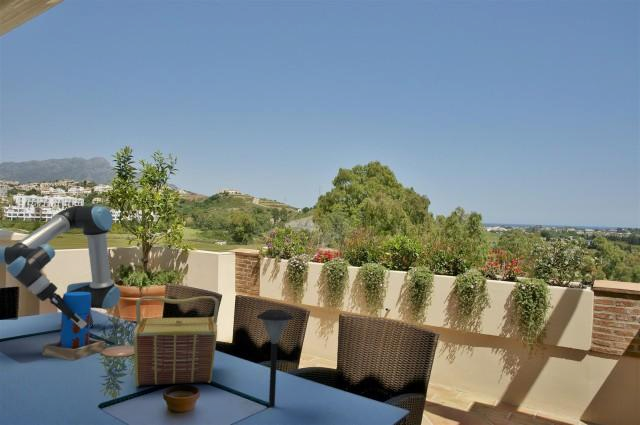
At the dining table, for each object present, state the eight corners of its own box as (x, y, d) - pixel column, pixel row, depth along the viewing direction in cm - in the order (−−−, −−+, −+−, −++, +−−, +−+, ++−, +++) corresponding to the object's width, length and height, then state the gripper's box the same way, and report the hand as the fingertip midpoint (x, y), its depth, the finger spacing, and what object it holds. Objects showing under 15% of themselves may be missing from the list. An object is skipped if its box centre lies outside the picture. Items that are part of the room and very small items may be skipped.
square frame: (75, 345, 207) (75, 336, 207) (104, 350, 202) (104, 341, 202) (42, 355, 192) (43, 345, 192) (73, 360, 186) (73, 350, 186)
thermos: (93, 350, 202) (96, 292, 202) (78, 357, 191) (81, 296, 192) (70, 348, 203) (73, 291, 203) (53, 355, 192) (57, 294, 193)
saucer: (120, 345, 211) (120, 343, 211) (149, 349, 206) (149, 348, 206) (92, 353, 196) (92, 352, 196) (123, 358, 191) (123, 357, 191)
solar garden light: (291, 399, 154) (295, 308, 155) (290, 414, 142) (294, 315, 142) (254, 398, 153) (258, 307, 154) (250, 413, 141) (254, 314, 142)
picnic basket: (127, 393, 154) (131, 302, 154) (136, 369, 178) (140, 291, 179) (217, 388, 161) (221, 302, 162) (214, 366, 186) (217, 291, 187)
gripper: (35, 291, 199) (74, 324, 207) (34, 299, 180) (77, 336, 187) (50, 278, 202) (88, 311, 210) (51, 285, 182) (93, 322, 190)
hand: (83, 323), depth 199 cm, fingers closed on thermos, 11 cm apart
